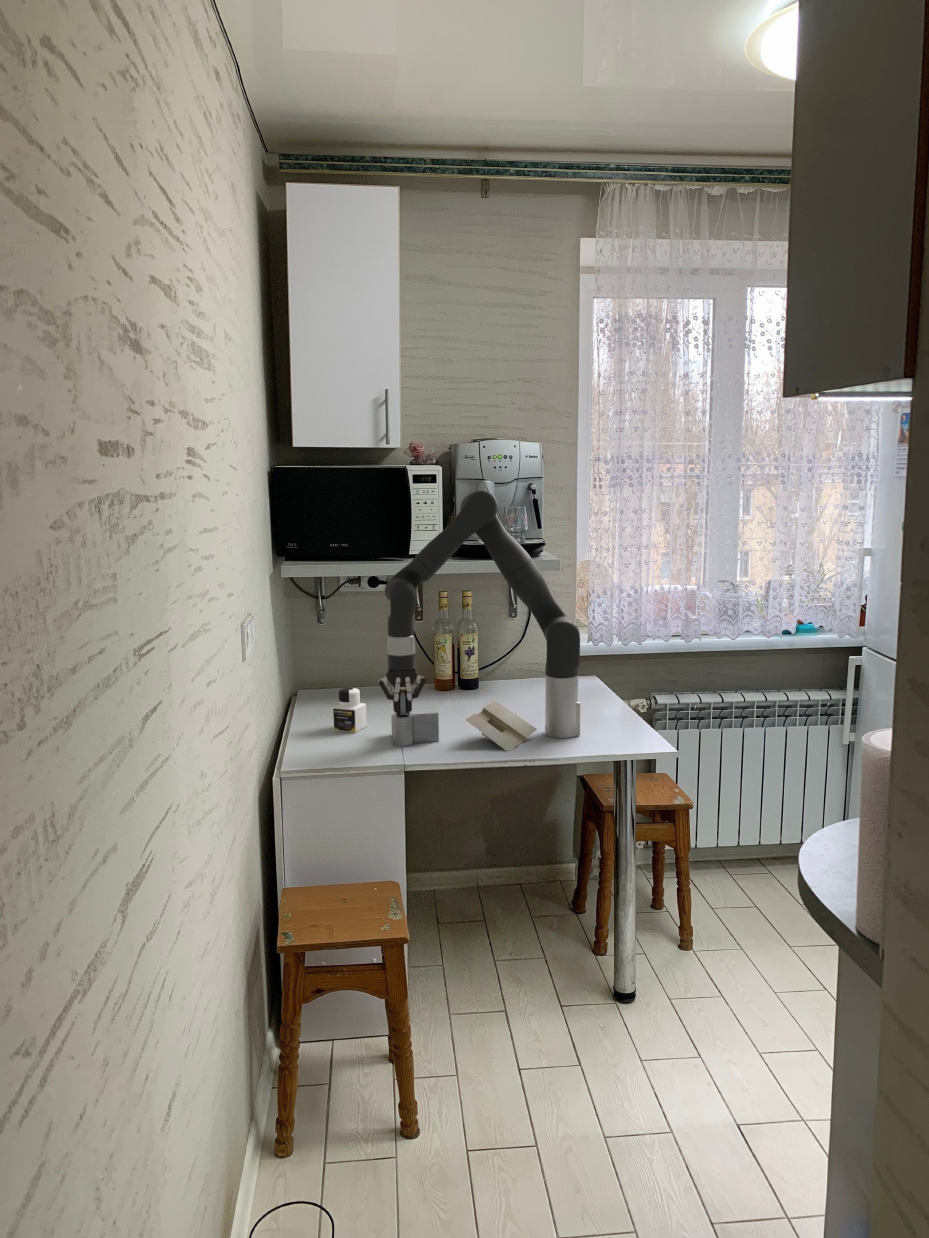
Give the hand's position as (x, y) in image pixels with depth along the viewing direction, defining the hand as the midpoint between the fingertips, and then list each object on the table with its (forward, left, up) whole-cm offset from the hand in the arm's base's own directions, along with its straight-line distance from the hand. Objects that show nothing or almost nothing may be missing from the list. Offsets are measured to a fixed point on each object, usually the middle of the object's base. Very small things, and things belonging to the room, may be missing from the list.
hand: (402, 713), depth 251 cm
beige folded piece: (-27, +4, -9) cm, 29 cm away
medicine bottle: (+13, -18, -9) cm, 24 cm away
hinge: (-3, -3, -9) cm, 10 cm away
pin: (0, 0, -5) cm, 5 cm away
